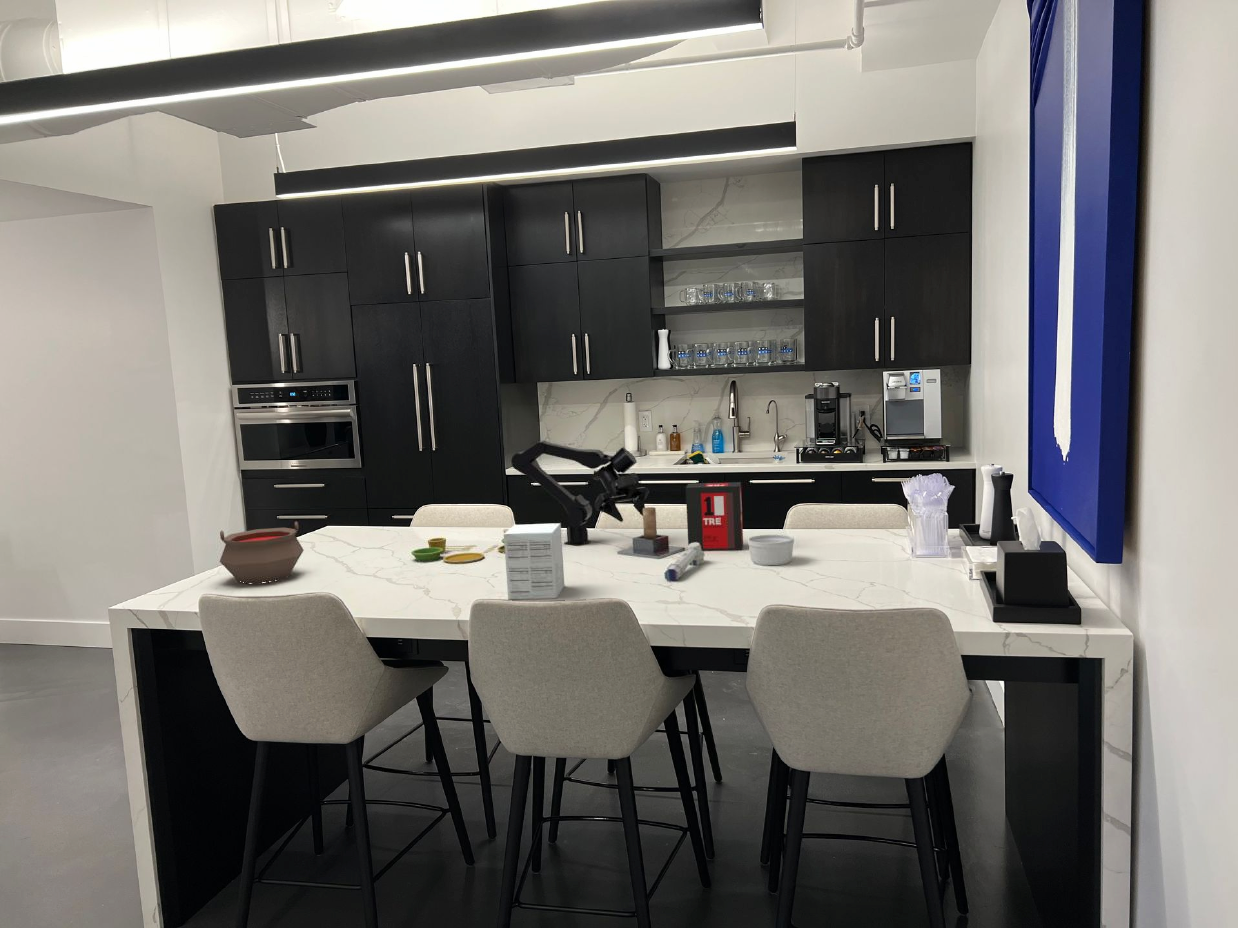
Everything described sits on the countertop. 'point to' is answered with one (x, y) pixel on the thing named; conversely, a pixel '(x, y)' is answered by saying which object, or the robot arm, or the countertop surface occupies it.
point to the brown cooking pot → (261, 554)
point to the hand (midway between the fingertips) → (633, 518)
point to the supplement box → (534, 561)
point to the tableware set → (439, 548)
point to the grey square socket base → (651, 547)
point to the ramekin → (771, 549)
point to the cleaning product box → (715, 516)
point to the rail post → (649, 523)
